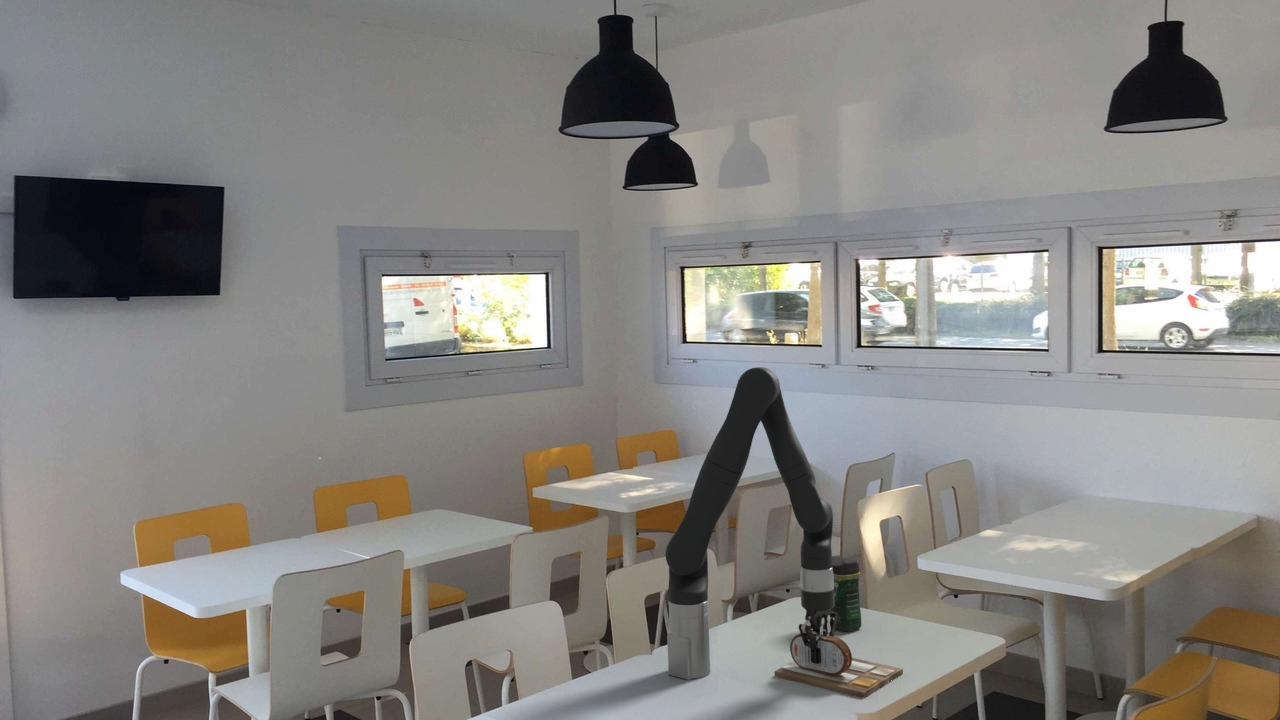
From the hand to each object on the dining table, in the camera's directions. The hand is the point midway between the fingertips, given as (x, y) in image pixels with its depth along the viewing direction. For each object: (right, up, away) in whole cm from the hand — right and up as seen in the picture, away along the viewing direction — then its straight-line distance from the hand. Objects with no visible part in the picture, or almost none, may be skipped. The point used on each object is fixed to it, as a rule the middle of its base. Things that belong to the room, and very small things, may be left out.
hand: (819, 660), depth 233 cm
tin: (0, -3, 0) cm, 3 cm away
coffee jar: (+13, -2, +37) cm, 39 cm away
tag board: (+5, -4, +2) cm, 6 cm away
